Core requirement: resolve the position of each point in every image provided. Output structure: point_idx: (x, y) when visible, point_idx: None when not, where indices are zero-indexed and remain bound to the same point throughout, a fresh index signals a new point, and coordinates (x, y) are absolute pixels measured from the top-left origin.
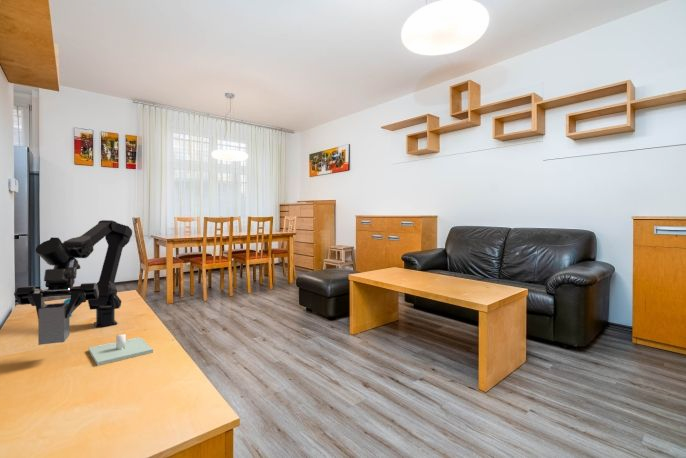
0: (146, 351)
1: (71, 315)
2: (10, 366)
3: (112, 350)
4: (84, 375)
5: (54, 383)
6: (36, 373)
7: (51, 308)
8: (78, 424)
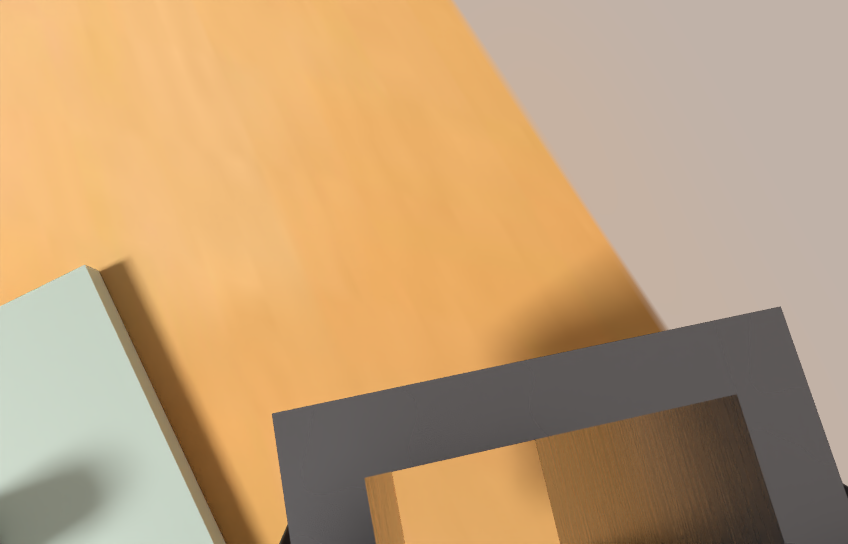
0: None
1: None
2: None
3: (25, 506)
4: (138, 137)
5: (270, 70)
6: (442, 231)
7: (540, 362)
8: None
